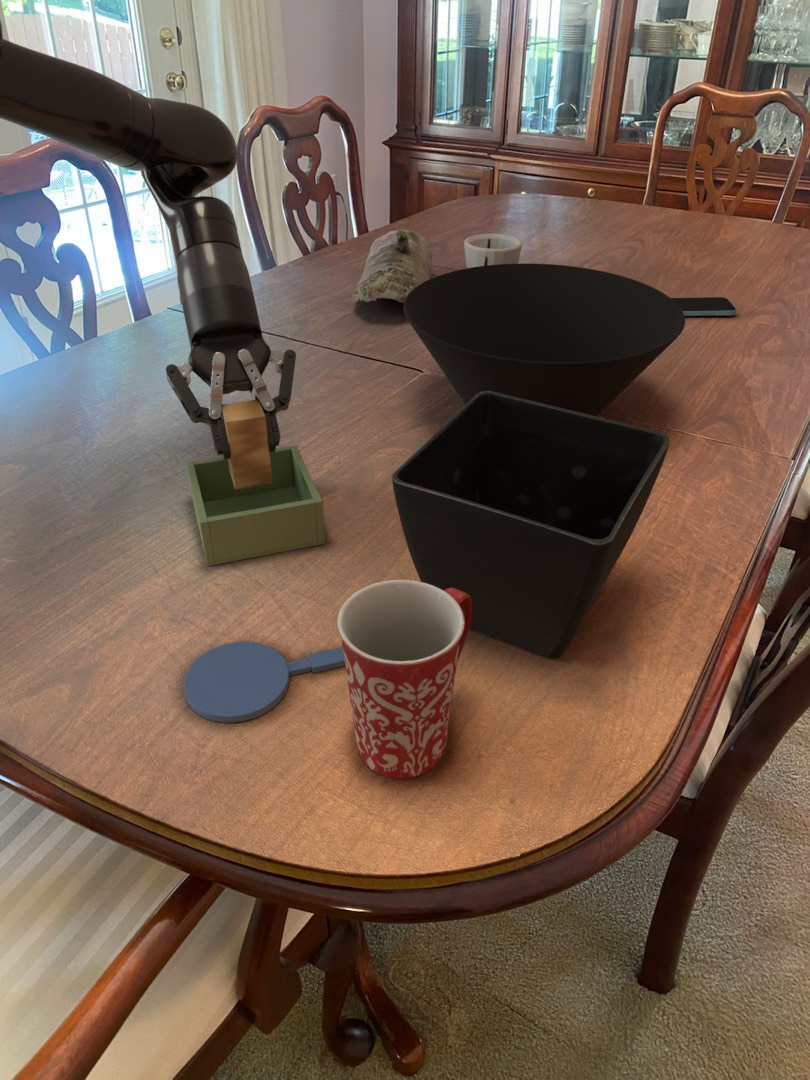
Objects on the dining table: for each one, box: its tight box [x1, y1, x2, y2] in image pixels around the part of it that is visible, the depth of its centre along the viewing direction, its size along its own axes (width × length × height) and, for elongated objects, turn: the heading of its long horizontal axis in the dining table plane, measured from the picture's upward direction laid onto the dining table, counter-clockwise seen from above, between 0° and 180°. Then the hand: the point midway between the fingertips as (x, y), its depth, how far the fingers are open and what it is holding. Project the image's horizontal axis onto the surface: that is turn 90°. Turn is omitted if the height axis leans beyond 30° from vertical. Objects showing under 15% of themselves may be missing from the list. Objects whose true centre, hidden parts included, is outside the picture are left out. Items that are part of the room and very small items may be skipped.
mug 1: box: [336, 579, 472, 779], centre depth 63 cm, size 13×9×14 cm
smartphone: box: [670, 296, 738, 317], centre depth 145 cm, size 7×1×15 cm
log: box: [351, 228, 433, 304], centre depth 148 cm, size 14×12×30 cm
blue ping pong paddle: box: [183, 641, 345, 724], centre depth 72 cm, size 18×9×1 cm, turn 109°
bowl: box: [403, 262, 686, 417], centre depth 109 cm, size 36×36×15 cm
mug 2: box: [463, 233, 523, 268], centre depth 150 cm, size 10×15×10 cm
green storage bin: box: [185, 444, 326, 567], centre depth 89 cm, size 13×13×6 cm
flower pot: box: [391, 391, 672, 660], centre depth 75 cm, size 19×19×17 cm
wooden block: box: [221, 399, 273, 489], centre depth 85 cm, size 4×4×8 cm
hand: (250, 452), depth 84 cm, fingers closed on wooden block, 4 cm apart
